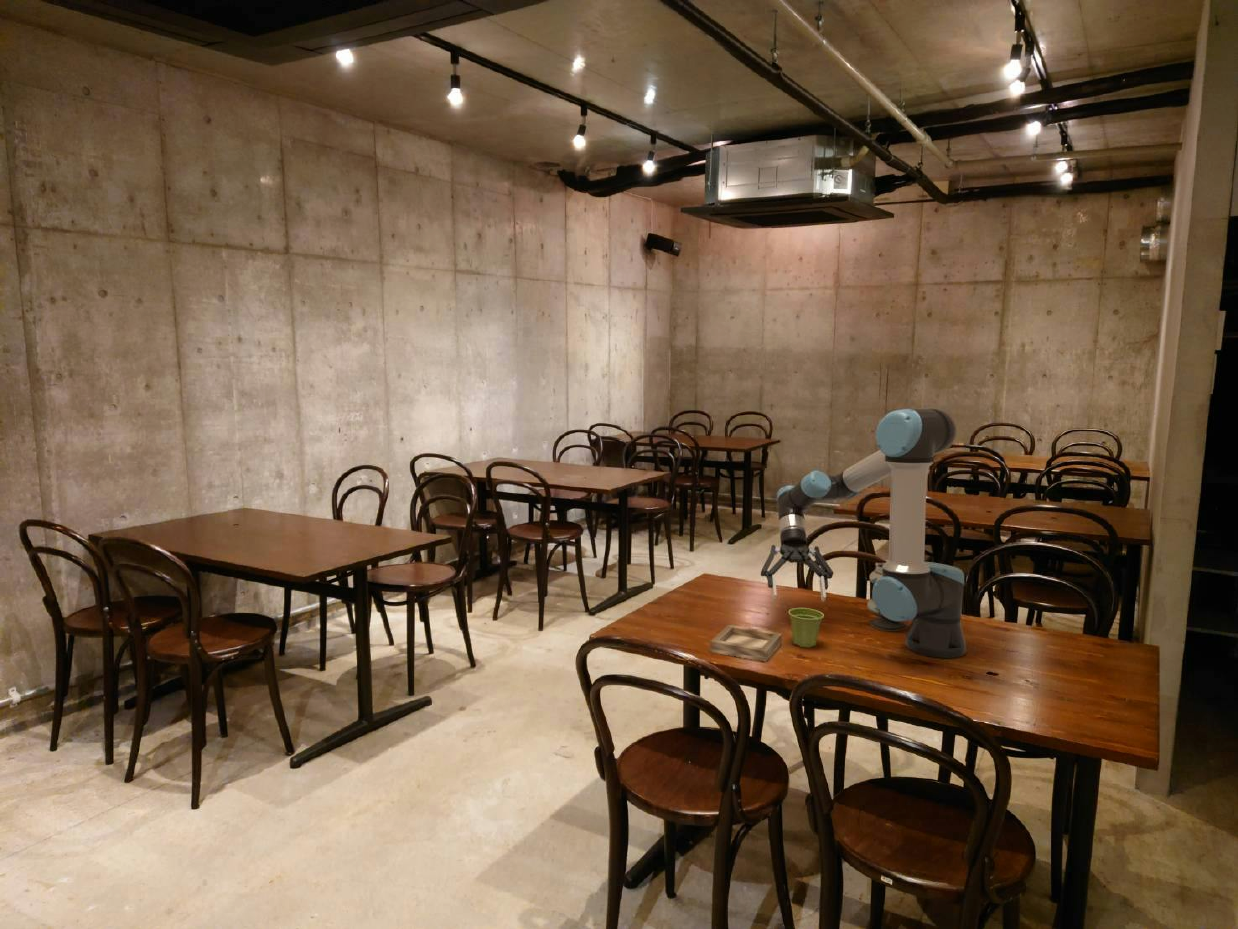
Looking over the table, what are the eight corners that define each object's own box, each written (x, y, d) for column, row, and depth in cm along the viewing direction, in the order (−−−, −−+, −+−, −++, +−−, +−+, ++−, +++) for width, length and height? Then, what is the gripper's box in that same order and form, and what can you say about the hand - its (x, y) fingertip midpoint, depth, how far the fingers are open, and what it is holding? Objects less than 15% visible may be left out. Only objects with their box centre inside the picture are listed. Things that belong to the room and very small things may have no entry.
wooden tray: (781, 644, 212) (781, 633, 211) (765, 662, 199) (766, 651, 198) (728, 634, 218) (729, 624, 218) (710, 652, 205) (710, 641, 205)
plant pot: (819, 638, 217) (821, 608, 216) (824, 651, 207) (826, 619, 206) (785, 637, 218) (786, 607, 216) (789, 649, 208) (790, 617, 207)
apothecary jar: (901, 619, 234) (905, 561, 232) (915, 633, 222) (920, 572, 220) (861, 618, 235) (864, 560, 232) (873, 632, 223) (877, 571, 220)
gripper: (833, 541, 233) (841, 606, 220) (749, 539, 234) (752, 602, 221) (838, 528, 227) (847, 593, 214) (751, 525, 228) (755, 590, 215)
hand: (799, 598), depth 218 cm, fingers open, 13 cm apart
